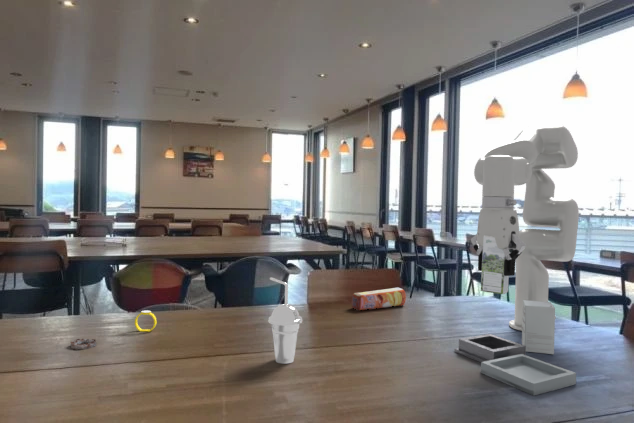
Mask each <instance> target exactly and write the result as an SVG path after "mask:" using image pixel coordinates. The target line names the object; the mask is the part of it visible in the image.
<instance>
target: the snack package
mask: <svg viewBox="0 0 634 423" xmlns="http://www.w3.org/2000/svg"><path fill="white" fill-rule="evenodd" d="M406 298H407V293H406V291H405V290H404V289H403V288H401V287H392V288H385V289H384V288H383V289H377V290H370V291H363V292H354V293H352V296H351V306H352V309H353V308H354V310H355V309H356V310H355V311H358V310H362V311H366V310H367V309H369V310H377V309H385V308H393V307H392V306H394V307H402V305H403V306H404V305H405V303H406ZM376 308H377V309H376Z"/></svg>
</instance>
